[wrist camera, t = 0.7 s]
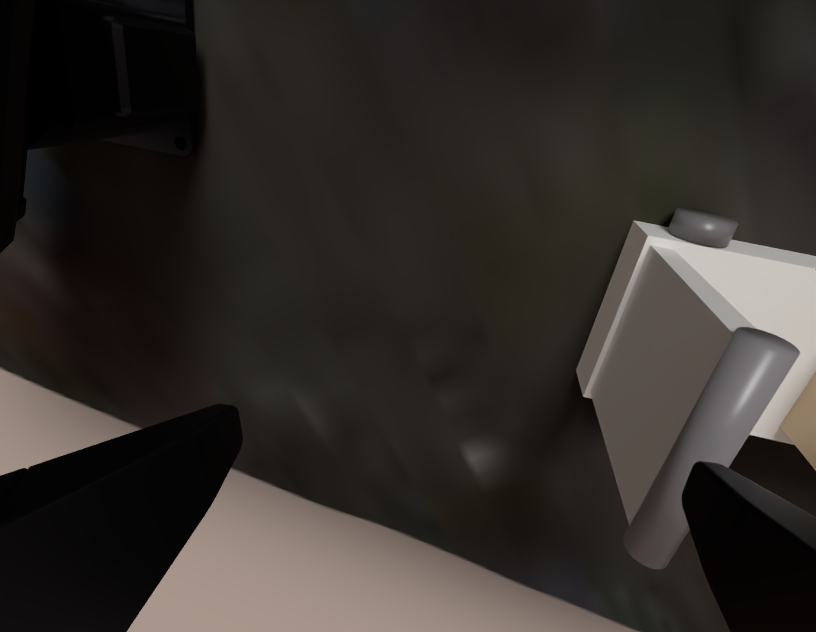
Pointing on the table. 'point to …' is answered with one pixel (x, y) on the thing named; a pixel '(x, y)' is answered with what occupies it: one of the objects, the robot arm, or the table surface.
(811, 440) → the trolley
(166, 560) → the robot arm
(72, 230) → the table surface
